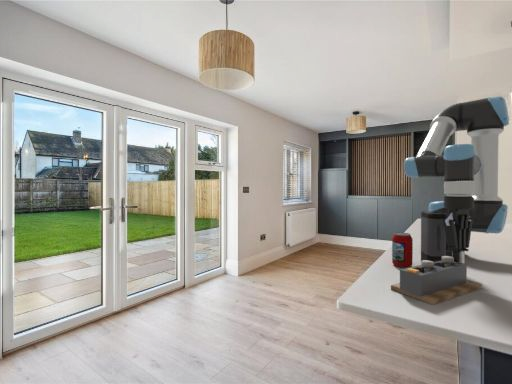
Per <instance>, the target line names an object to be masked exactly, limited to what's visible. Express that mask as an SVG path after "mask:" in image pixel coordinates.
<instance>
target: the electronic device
mask: <svg viewBox="0 0 512 384" xmlns="http://www.w3.org/2000/svg"><path fill="white" fill-rule="evenodd" d="M443 219H446V214H445V213H439V212H435V211H428V210H427V211H426V210H425V211H421V212H420V262H421V261H422V260H428V261H433V262H436V261H441V260H442V256H446V233H445V226H444V224H443Z"/></svg>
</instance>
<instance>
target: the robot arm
mask: <svg viewBox="0 0 512 384" xmlns="http://www.w3.org/2000/svg"><path fill="white" fill-rule="evenodd" d="M509 119H510V118H509V112H508V107H507V103H506V100H505V98H504V97H503V96H494V97H486V98H481V99H475V100H470V101H466V102H458V103H455V104H452V105H449V106H448V107H446V108H444V109H442V110H441V111H440V112H439V113H438V114H437V115H435V117H434V118H433V119H432V121H431V122H430V125H429V131H428V132H427V135H426V137H425V139H424V141H423V142H422V144H421V146H420V148H419V150H418V152H417V154H416V155H415V156H411V157H407V158H405V160H404V163H403V170H404V175H405V176H406V177H408V178H417V179H419V178H437V177H439V178H441V177H442V178H443V182H444V183H443V189H444V190H443V194H444V195H445V196H444V197H443V200H440V201H431V202H430V203H429V204H428V210H427V211H435V212H439V213H445V214H446V219H443V224H444V226H445V233H446V256H450V257H453V258H454V261H455V262H459V263H464V264H465V255H466V254H465V253H466V252H468V251H469V250H470V241H471V235H472V233H473V232H474V233H485V234H501V233H502V232H503V230H504V228H505V226H506V221H507V216H508V209H509V206H508V205H507V204H505V203H504V202H503V201H504V200H503V199H502V198H501V197H500V196H499V195H498V194H499V193H498V192H499V189H498V188H499V136H500V134H502V133H503V132H504V131H505V130H504V129H505V128H504V127H507V126H509V124H510V122H509V121H510V120H509ZM460 131H466V135H468V136H469V138H470V139H471V141H470V142H471V143H461V144H459V143H458V144H450V145H447V143H448V141H449V139H450V136H452V135H453V134H454V133H455V132H460ZM446 145H447V146H446ZM503 203H504V204H503Z"/></svg>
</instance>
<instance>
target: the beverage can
mask: <svg viewBox="0 0 512 384" xmlns="http://www.w3.org/2000/svg"><path fill="white" fill-rule="evenodd" d="M391 239H392V240H391V245H392V247H391V252H392V253H391V256H392V257H391V258H392V259H391V261H392V264H393V265H394V266H396V267H398V266H399V268H409V267H412V266H413V257H414V256H413V251H414V250H413V244H414V243H413V238H412V235H411V233H409V232H394V234H393V235H392V238H391Z"/></svg>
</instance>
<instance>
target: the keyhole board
mask: <svg viewBox="0 0 512 384" xmlns="http://www.w3.org/2000/svg"><path fill="white" fill-rule="evenodd" d="M442 261H443V262H444V268H446V267H450V265H451V263H453V262H454V258H453V257H451V256H442ZM420 265H422V266H424V273H426V272H430V270H431V267H434V262H433V261H428V260H422V261H421V260H420ZM480 289H483V283H479V282H476V281H472V280H468V279H467V283H463V284H460V285H457V286H454V287H451V288H447V289H444V290H441V291H438V292H434V293H431V294H428V295H425V296H422V297H421V296H418V295H415V294H412V293H409V292H406V291H403V290H401V289H400V282H399V283H394V284H391V285H390V290H392V291H395V292H397V293H399V294H400V293H401V294H403V295H406V296H409V297H410V298H413V299H416V300H420V301H422V302H425V303H427V304H430V305H437V304H438V303H442V302H444V301H445V302H446V301H448V300H451V299H453V298H456V297H460V296H463V295H466V294H469V293H472V292H475V291H477V290H480Z"/></svg>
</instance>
